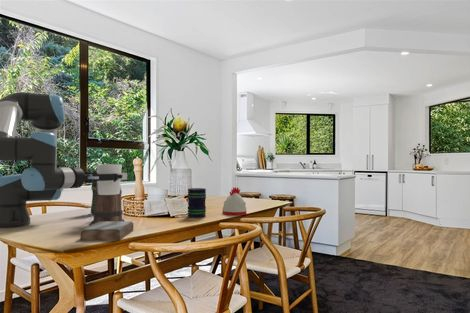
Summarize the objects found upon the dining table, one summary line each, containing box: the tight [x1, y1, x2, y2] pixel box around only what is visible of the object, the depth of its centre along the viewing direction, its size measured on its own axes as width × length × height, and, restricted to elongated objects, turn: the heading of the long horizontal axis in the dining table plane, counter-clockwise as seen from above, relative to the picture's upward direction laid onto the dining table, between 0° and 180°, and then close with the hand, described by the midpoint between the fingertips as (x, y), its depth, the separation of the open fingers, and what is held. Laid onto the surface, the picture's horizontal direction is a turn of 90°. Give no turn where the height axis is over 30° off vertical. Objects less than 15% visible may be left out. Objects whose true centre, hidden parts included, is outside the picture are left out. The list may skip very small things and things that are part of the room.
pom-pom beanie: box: [222, 186, 247, 216], centre depth 203 cm, size 14×14×15 cm
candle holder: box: [96, 163, 123, 195], centre depth 142 cm, size 10×10×12 cm
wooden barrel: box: [90, 182, 97, 215], centre depth 198 cm, size 10×8×19 cm
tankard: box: [88, 185, 126, 226], centre depth 167 cm, size 24×17×20 cm
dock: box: [79, 220, 134, 241], centre depth 142 cm, size 15×18×4 cm
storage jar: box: [187, 187, 207, 219], centre depth 190 cm, size 10×10×15 cm
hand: (117, 175), depth 146 cm, fingers closed on candle holder, 9 cm apart
